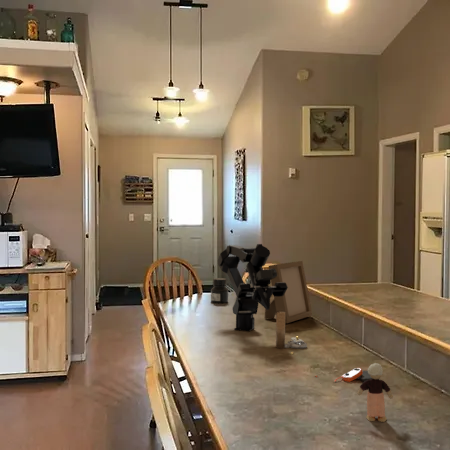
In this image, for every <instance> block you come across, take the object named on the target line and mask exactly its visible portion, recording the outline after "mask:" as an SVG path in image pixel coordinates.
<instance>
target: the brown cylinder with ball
mask: <svg viewBox="0 0 450 450" xmlns="http://www.w3.org/2000/svg"><path fill="white" fill-rule="evenodd" d="M275 316H276V317H275V318H276V321H275V323H276V324H275V325H276V326H275V348H276V349H285V348H286V349H288V348H290V349H306V348H307V347H308V344H307V342H305V341H304V342H302V341H294V340H289V341H287V343H286V323H285V312H282V311H278V312H276V315H275Z"/></svg>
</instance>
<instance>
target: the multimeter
mask: <svg viewBox="0 0 450 450" xmlns="http://www.w3.org/2000/svg"><path fill="white" fill-rule="evenodd" d="M362 369H363V368H360V367H355V368H353V369H352V370H350V371H347V372H346V373H344V374H343V375H341V376H340V377H337V378H336V379H335V380H334V381H333V384H334V383H337V380H338V379H341V378H342V379H341V380H340V381H339V383H341V382H343V381H345V382H349V383H351V382H353V381H354V380H356V379H359V380H360V382H361V383H363V382H364V381H366V380H370V379H372V378H371V376H370V375H369V373H368V370H362ZM315 376H316V377H315V378H318V377H317V376H318V375H315Z"/></svg>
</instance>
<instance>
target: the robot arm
mask: <svg viewBox="0 0 450 450" xmlns="http://www.w3.org/2000/svg"><path fill="white" fill-rule="evenodd" d="M270 255H271V251H270V250H269V249H268V247H266V246H264V245H263V244H262V243H257V244H256V246H255V247H244V246H241V245H239V244H229V245H226V248H225V249H224V250H223V251H222V252H220V254H219V256H218V258H217V266H218V267H219V268H220V270H221V272H223V273H225V274H226V275H227V277H228V278H229V281H230V283H231V286H232V288H233V290H234V292H235V295H236V299H235V301H234V304H233V307H232V313H233V314H234V315H235V327H234V331H243V332H244V331H246V332H251V331H252V330H253V329H255V317H254V315H257V314H258V308H259V304H260V305H261V306H262V307H263V308H264V309H266V310H269V309H270V303H271V297H272V296H273V297H274V296H275V297H282V296H284V294H285V292H286V290H287V288H288V286H287V284H286V283H285V282H276V283H275V285H274V286H272V285H271V284H272V283H271V279H273V278H275V277H277V272H276V269H271V270H269V269H263V267H264V266H265V265H266V264H267V261H268V259H269V257H270ZM240 262H242V263H247V264H246V267H245V273H247V274H248V277H249V282H248V283H245V282H244V280H243V277H242V275H241V274H240V272H239V268H238V266H239V264H240ZM251 286H252V287H251Z"/></svg>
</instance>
